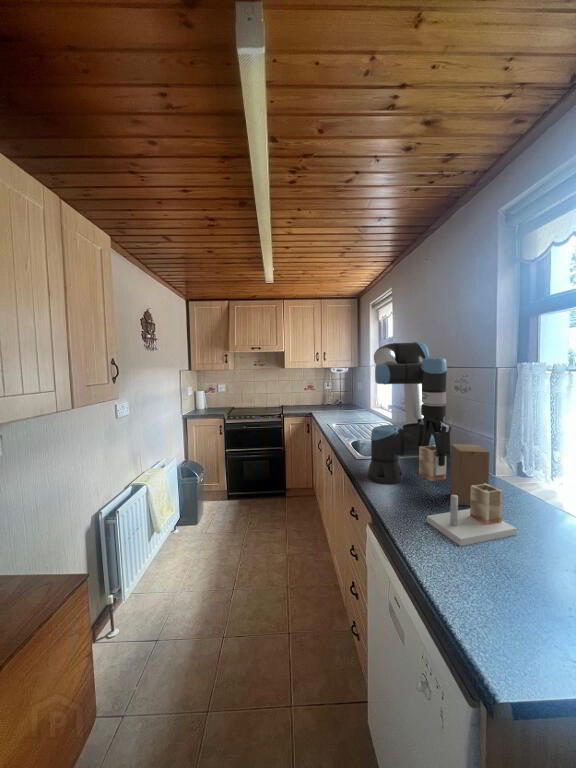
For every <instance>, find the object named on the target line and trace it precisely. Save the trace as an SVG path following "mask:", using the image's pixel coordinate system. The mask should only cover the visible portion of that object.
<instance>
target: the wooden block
mask: <svg viewBox="0 0 576 768" xmlns="http://www.w3.org/2000/svg"><path fill="white" fill-rule="evenodd" d="M449 459H450V464H449V465H450V467H449V469H450V470H449V474H450V475H449V495H450V496H451V495H457V496H458V506H467V507H468V506H470V496H471V486H472V485H479V484H488V485H490V484H489V483H490V481H489V480H490V451H488V450H487V449H485V448H484V447H482V445H479V444H469V443H468V444H467V443H463V444H462V443H450V458H449Z"/></svg>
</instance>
